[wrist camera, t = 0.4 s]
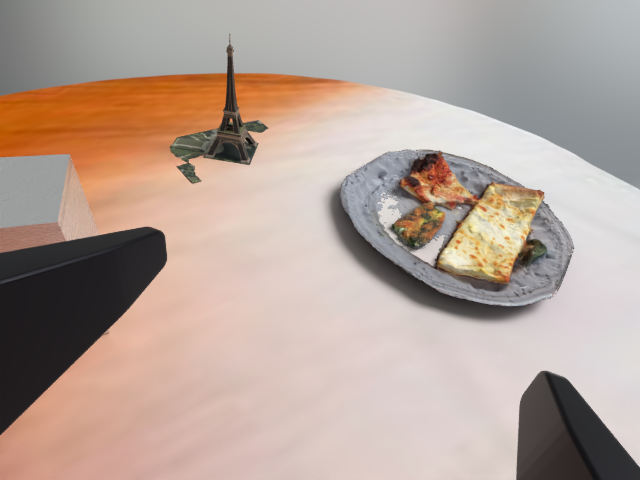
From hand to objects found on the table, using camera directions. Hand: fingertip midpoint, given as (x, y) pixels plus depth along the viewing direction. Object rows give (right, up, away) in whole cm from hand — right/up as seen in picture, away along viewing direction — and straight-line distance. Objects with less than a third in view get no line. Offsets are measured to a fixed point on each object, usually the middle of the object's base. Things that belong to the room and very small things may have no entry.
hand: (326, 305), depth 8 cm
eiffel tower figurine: (-11, +12, +36) cm, 40 cm away
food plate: (+14, +3, +32) cm, 35 cm away
